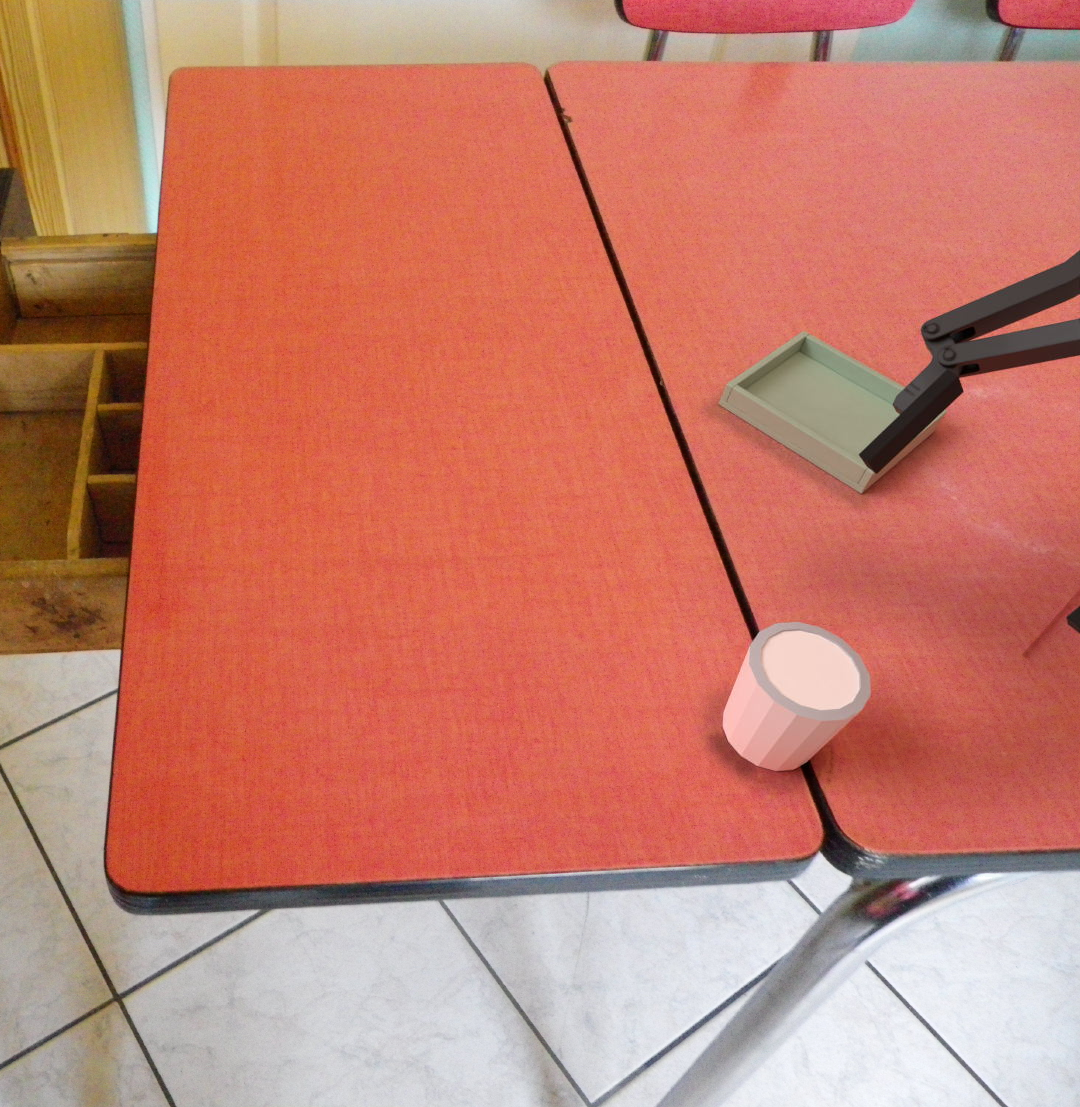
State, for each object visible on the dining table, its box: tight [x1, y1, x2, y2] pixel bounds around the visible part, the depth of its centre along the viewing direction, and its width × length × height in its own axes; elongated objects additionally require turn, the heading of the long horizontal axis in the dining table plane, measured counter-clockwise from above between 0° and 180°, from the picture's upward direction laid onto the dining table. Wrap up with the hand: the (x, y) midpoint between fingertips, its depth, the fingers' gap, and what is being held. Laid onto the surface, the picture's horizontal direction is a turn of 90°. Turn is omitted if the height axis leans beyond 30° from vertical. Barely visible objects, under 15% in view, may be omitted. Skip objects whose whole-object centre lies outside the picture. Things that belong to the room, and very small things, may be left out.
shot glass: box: [722, 621, 872, 772], centre depth 61 cm, size 7×7×7 cm
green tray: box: [718, 330, 948, 494], centre depth 82 cm, size 13×11×2 cm
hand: (963, 540), depth 57 cm, fingers open, 13 cm apart
